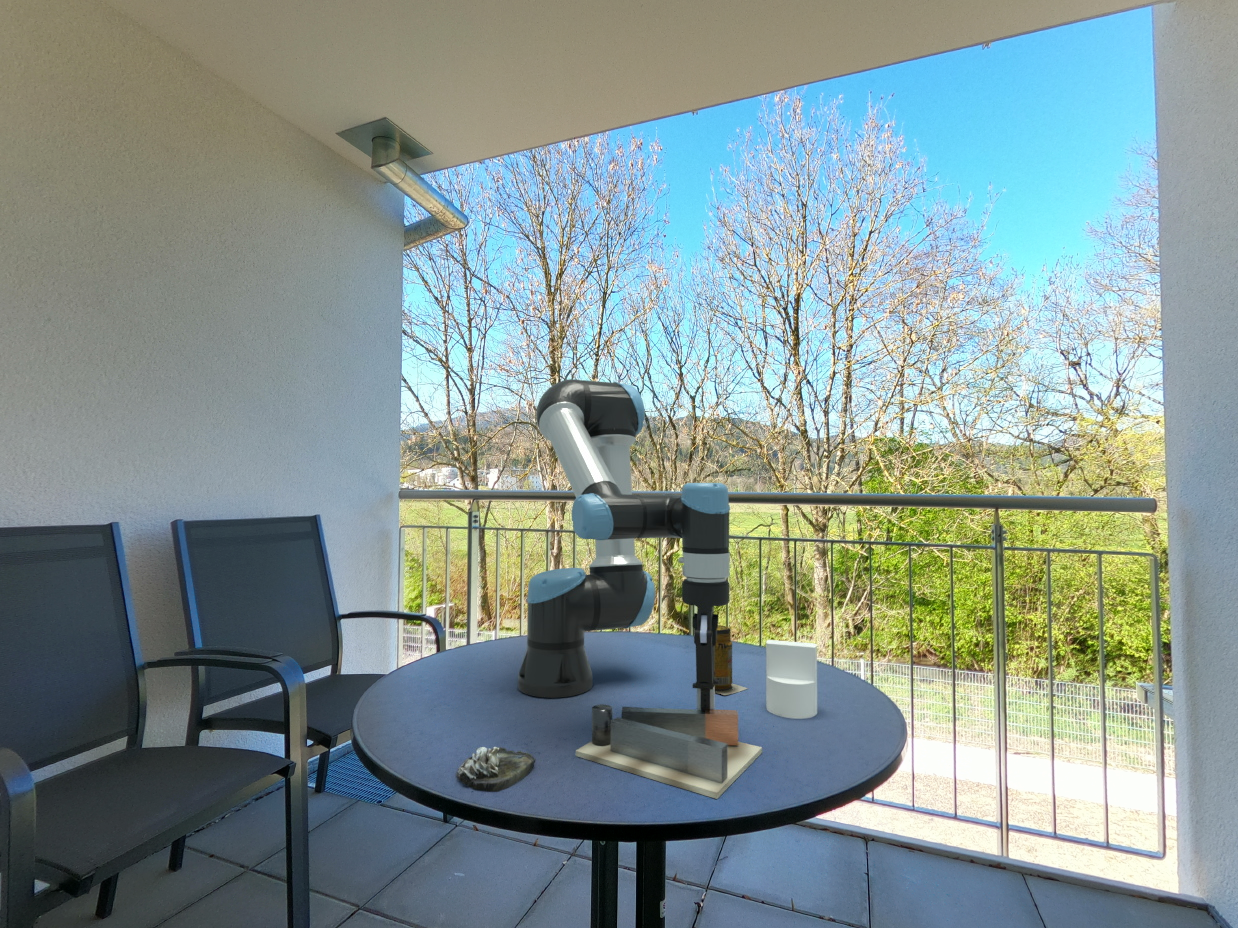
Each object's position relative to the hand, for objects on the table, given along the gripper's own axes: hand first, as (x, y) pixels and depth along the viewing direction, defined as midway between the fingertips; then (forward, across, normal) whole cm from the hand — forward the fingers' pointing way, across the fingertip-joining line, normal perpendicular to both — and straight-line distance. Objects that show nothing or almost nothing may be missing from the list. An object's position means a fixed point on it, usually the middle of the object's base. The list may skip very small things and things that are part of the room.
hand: (705, 727), depth 97 cm
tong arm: (+1, +3, -4) cm, 5 cm away
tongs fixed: (+2, +9, -7) cm, 11 cm away
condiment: (+3, -28, +1) cm, 28 cm away
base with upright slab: (+3, -18, +14) cm, 24 cm away
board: (+2, +5, -5) cm, 8 cm away
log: (+3, +16, -29) cm, 33 cm away
